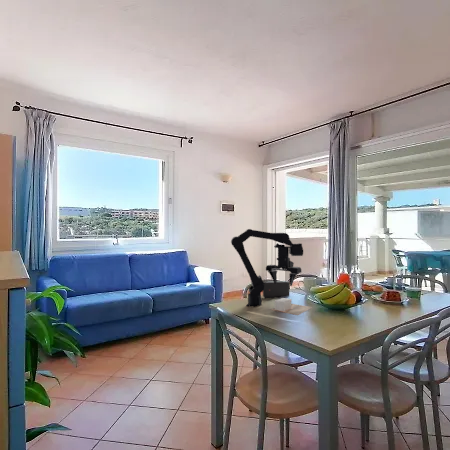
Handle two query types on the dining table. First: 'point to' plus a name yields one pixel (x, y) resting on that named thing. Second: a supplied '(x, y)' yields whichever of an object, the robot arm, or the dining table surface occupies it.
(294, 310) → the mounting board
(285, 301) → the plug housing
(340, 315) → the dining table surface
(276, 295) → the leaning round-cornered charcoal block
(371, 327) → the dining table surface
